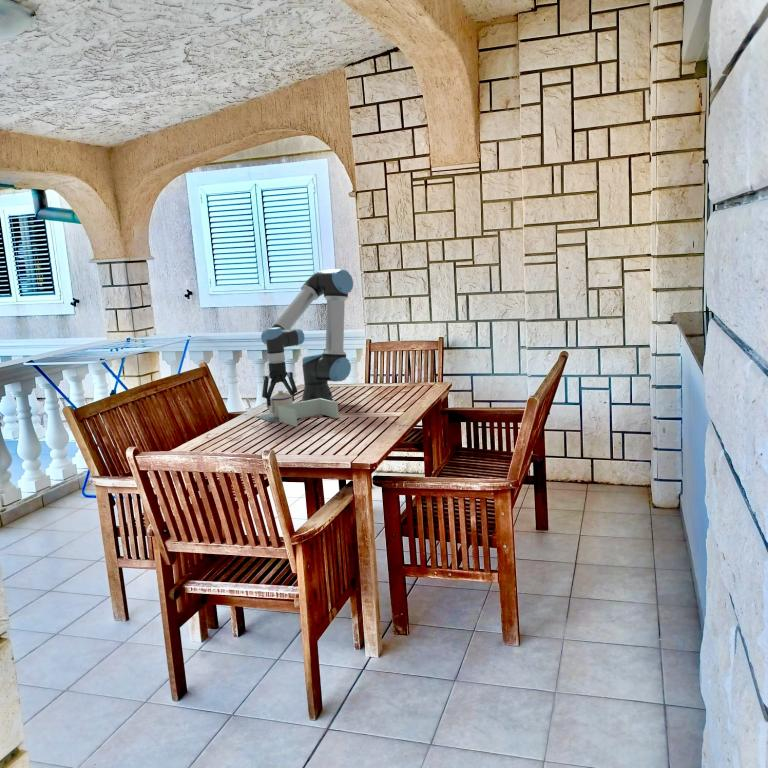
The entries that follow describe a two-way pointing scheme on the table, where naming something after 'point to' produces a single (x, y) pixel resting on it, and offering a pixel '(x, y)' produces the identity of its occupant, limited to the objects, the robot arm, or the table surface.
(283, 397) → the teacup with lid
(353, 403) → the table surface
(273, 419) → the mat
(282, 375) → the robot arm
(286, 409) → the bent sage-green plate
